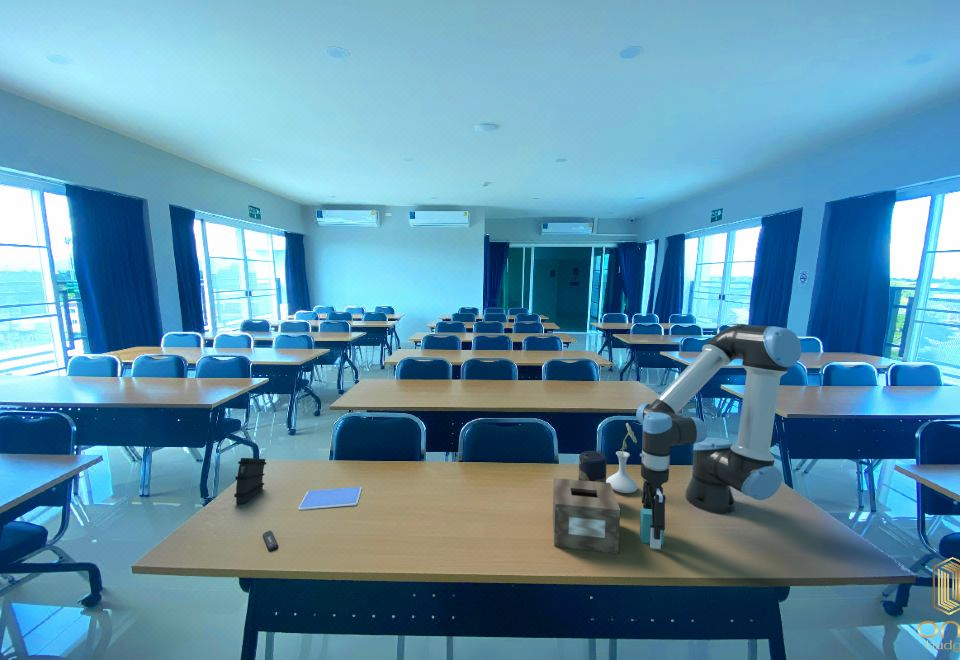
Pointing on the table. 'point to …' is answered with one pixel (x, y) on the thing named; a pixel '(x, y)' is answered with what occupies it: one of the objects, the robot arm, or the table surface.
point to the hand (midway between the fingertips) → (651, 538)
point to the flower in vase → (623, 470)
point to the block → (647, 526)
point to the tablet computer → (331, 498)
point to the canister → (592, 466)
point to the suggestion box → (585, 515)
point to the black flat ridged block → (249, 479)
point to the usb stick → (270, 541)
